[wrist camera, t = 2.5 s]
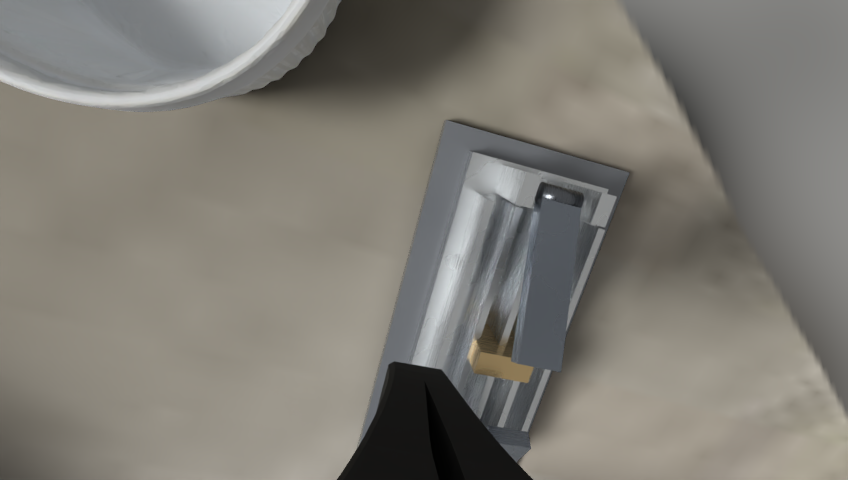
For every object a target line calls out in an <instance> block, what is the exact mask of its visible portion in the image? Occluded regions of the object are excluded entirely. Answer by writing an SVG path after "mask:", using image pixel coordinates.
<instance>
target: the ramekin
mask: <svg viewBox="0 0 848 480" xmlns="http://www.w3.org/2000/svg"><path fill="white" fill-rule="evenodd" d="M340 2H341V0H0V81H1V82H4V83H6V84H9V85H11V86H13V87H16V88H19V89H21V90H24V91H27V92H30V93H33V94H37V95H40V96H44V97H47V98H51V99H55V100H59V101H63V102H67V103H72V104H78V105H83V106H90V107H97V108H104V109H111V110H120V111H133V112H154V111H167V110H175V109H181V108H187V107H191V106H196V105H200V104H203V103H207V102H210V101H213V100H216V99H219V98H224V97H229V96H237V95H242V94H246V93H248V92H249V91H251V90H255V89H260V88H263V87H265V86H266V85H267V84H268V83H270V82H271V81H275V80H279V79H280V78H282V77H283V76H284V74H285V73H286V72H287V71H289V70H291V69H294V68H296V67H297V66H298V65H299V63H300V62H301V60H302V59H303V58H304V57H306V56H308V55H310V54H311V53H312V51H313V50H314V47H315V46H316V44H317V43H318V42H319V41H320V40H321V39H323V38H324V36H325V34H326V30H327V27H328V26H329V24H330V23H331V22H332V21H333V19H334V17H335V15H336V10H337V7H338V5H339V3H340Z"/></svg>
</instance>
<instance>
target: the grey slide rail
mask: <svg viewBox="0 0 848 480" xmlns="http://www.w3.org/2000/svg"><path fill="white" fill-rule="evenodd" d="M541 182H545V183H549V184H552V185H556V186H560V187H563V188H567V189H571V190H574V191H578V192H582V193H583V195H584V202H583V205H582V207H581V215H580V223H579V231H578V239H577V247H576V256H575V264H574V272H573V280H572V288H571V296H570V304H569V312H568V320H567V328H568V325H569V323H570V320H571V317H572V315H573V312H574V310H575V307H576V305H577V302H578V299H579V297H580V294H581V292H582V289H583V286H584V284H585V281H586V279H587V276H588V274H589V271H590V268H591V266H592V263H593V261H594V258H595V255H596V253H597V250H598V248H599V245H600V243H601V240H602V237H603V235H604V232H605V230H604V229H602V228H599V227H597V226H601V227H605V226H606V224H607V221H608V219H609V216H610V213H611V211H612V208H613V206H614V203H615V200H616V198H617V197H616V196H613V195H609V194H607V193H608V190H609V189H606V188H602V187H598V186H595V185H591V184H587V183H584V182H580V181H577V180H573V179H569V178H566V177H562V176H559V175H555V174H551V173H548V172H544V171H540V170H537V169H533V168H530V167H526V166H522V165H519V164H515V163H512V162H508V161H504V160H501V159H497V158H493V157H490V156H486V155H483V154H479V153H475V152H471V151H468V154H467V157H466V161H465V164H464V168H463V171H462V174H461V178H460V181H459V185H458V188H457V192H456V195H455V199H454V202H453V206H452V209H451V213H450V216H449V220H448V223H447V227H446V230H445V234H444V237H443V241H442V244H441V248H440V251H439V255H438V258H437V262H436V265H435V269H434V272H433V276H432V279H431V283H430V286H429V290H428V293H427V297H426V300H425V304H424V307H423V310H422V314H421V317H420V321H419V324H418V328H417V331H416V335H415V338H414V342H413V345H412V349H411V352H410V356H409V359H408V363H407V364H413V365H419V366H425V367H430V368H436V369H442V371H443V372H444V373H445V374H446V376H447V377H448V378H449V380H450V381H451V382H452V384H453V385H454V386H455V388H456V389H457V390H458V392H459V393H460V395H461V396H462V397H463V399H464V400H465V401H466V403H467V404H468V405H469V407H470V408H471V409H472V410H473V412H474V413H475V414H476V416H477V417H478V418H479V419H480V421H481V422H482V423H483V424H484V426H485V427H487V426H488V425H490V426H496V427H502V428H508V429H514V430H520V431H526V432H527V431H528V429H529V426H530V423H531V421H532V418H533V416H534V413H535V411H536V408H537V405H538V403H539V400H540V398H541V395H542V392H543V390H544V387H545V385H546V382H547V380H548V377H549V374H550V372H551V370H547V369H542V368H537V367H531V366H526V365H521V364H517V363H514V362H511V358H512V351H513V344H514V338H515V331H516V324H517V318H518V311H519V304H520V298H521V291H522V284H523V278H524V271H525V264H526V257H527V251H528V244H529V237H530V231H531V224H532V217H533V211H534V204H535V196H536V193H537V190H538V187H539V184H540V183H541ZM595 225H597V226H595ZM567 328H566V330H567Z"/></svg>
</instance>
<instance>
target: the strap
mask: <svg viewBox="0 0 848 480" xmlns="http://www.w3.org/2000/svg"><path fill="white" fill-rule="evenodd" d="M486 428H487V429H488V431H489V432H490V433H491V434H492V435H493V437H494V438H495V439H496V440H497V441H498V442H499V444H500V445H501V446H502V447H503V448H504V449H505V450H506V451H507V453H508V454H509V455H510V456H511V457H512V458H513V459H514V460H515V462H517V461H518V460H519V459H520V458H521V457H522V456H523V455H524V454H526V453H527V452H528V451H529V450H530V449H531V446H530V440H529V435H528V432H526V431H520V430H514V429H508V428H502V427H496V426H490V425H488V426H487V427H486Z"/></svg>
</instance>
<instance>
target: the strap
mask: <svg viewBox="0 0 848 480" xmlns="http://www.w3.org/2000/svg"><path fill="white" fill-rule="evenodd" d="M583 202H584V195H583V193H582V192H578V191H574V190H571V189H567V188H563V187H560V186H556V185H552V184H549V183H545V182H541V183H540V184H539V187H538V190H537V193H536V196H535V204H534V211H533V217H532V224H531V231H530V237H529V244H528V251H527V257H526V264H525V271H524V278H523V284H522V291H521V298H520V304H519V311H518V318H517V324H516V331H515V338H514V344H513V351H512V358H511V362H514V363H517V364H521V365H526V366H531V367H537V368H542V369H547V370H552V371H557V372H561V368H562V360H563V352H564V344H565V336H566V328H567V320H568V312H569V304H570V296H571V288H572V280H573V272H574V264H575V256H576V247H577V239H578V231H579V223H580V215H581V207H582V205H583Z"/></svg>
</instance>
